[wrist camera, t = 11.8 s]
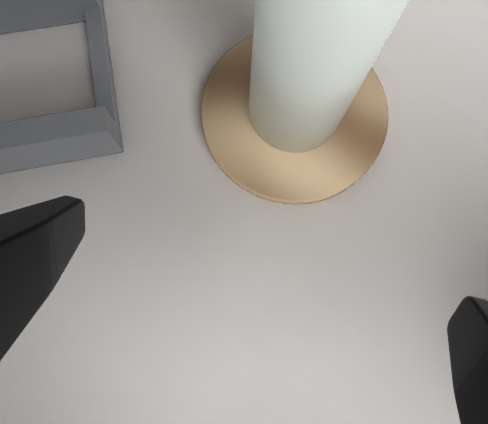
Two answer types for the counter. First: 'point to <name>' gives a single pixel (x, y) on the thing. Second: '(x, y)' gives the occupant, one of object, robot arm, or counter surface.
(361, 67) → the white jar with lid
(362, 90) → the coaster
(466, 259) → the counter surface
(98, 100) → the socket frame
